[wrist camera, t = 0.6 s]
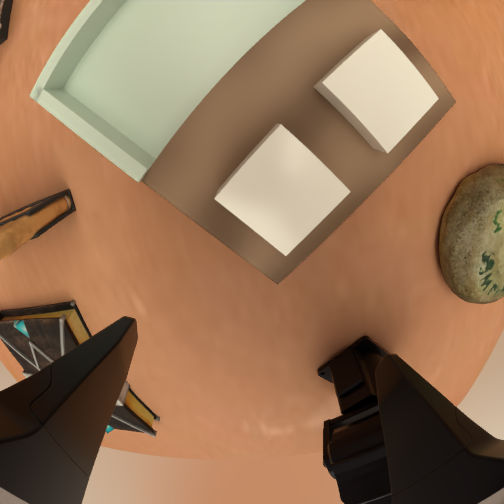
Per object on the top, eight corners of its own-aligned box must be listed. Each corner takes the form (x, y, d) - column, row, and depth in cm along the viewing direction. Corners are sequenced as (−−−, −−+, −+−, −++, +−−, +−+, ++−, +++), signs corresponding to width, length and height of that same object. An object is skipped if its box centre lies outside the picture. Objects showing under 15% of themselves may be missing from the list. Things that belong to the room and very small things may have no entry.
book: (-2, 306, 25) (-21, 329, 20) (76, 293, 23) (52, 326, 19) (78, 409, 34) (69, 432, 30) (163, 417, 33) (157, 446, 28)
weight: (408, 272, 22) (435, 306, 17) (466, 132, 16) (508, 142, 11) (483, 296, 24) (506, 322, 19) (531, 193, 18) (561, 210, 13)
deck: (436, 101, 15) (456, 101, 13) (275, 266, 21) (277, 284, 19) (330, -11, 12) (340, -25, 9) (154, 172, 18) (141, 180, 15)
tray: (330, -11, 12) (342, -28, 9) (154, 172, 18) (138, 182, 15) (209, -76, 8) (204, -96, 6) (53, 95, 14) (29, 95, 12)
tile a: (339, 182, 16) (350, 191, 14) (282, 240, 17) (285, 256, 16) (277, 123, 14) (280, 124, 12) (218, 189, 16) (214, 198, 14)
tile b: (420, 98, 13) (438, 98, 11) (373, 148, 15) (387, 153, 13) (366, 37, 11) (380, 29, 10) (313, 86, 13) (322, 82, 11)
